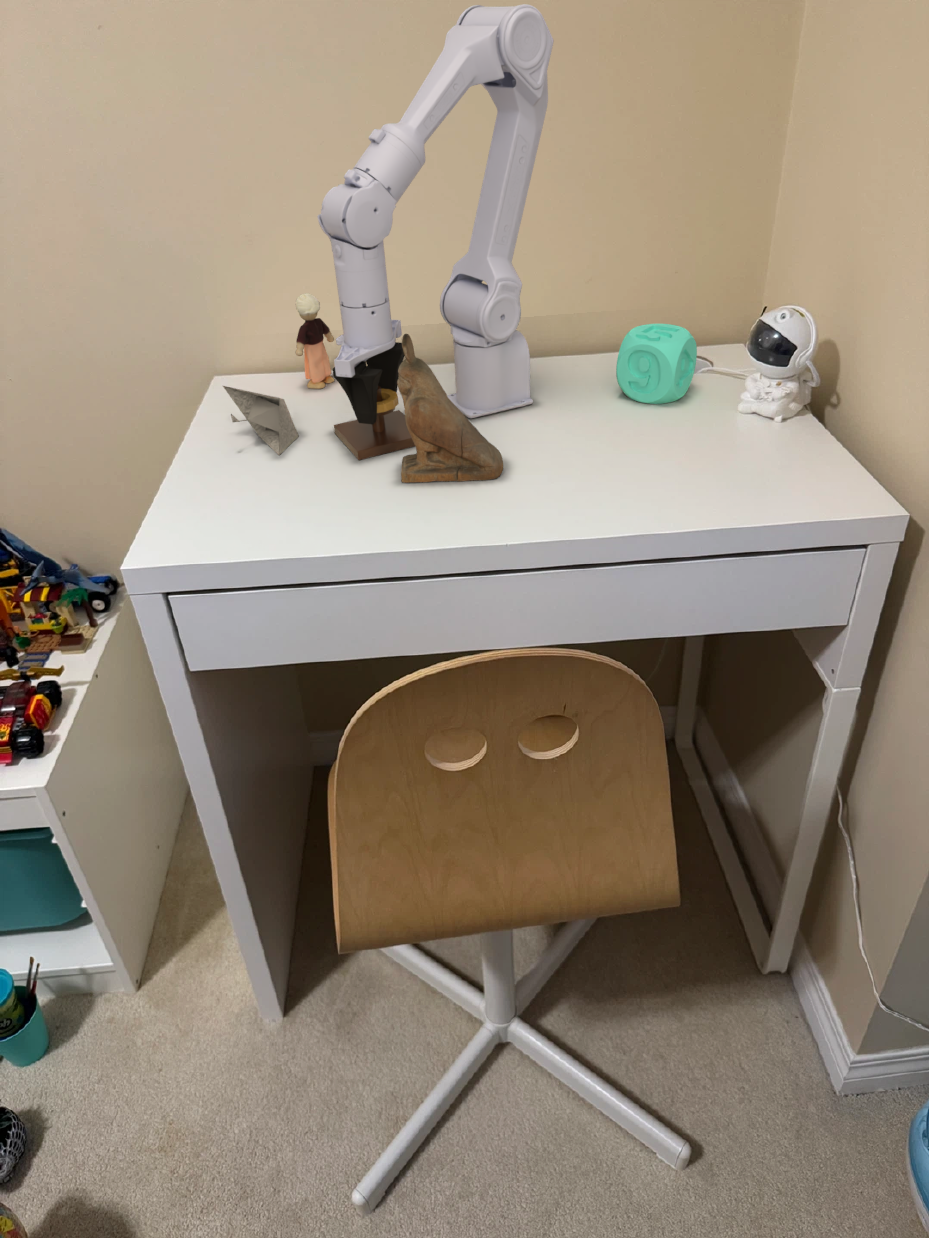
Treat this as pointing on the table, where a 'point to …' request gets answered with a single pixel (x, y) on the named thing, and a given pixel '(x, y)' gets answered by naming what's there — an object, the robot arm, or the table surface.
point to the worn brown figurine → (440, 430)
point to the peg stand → (376, 434)
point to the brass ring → (387, 401)
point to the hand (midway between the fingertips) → (377, 412)
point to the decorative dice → (656, 363)
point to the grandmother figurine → (313, 342)
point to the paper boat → (266, 417)
